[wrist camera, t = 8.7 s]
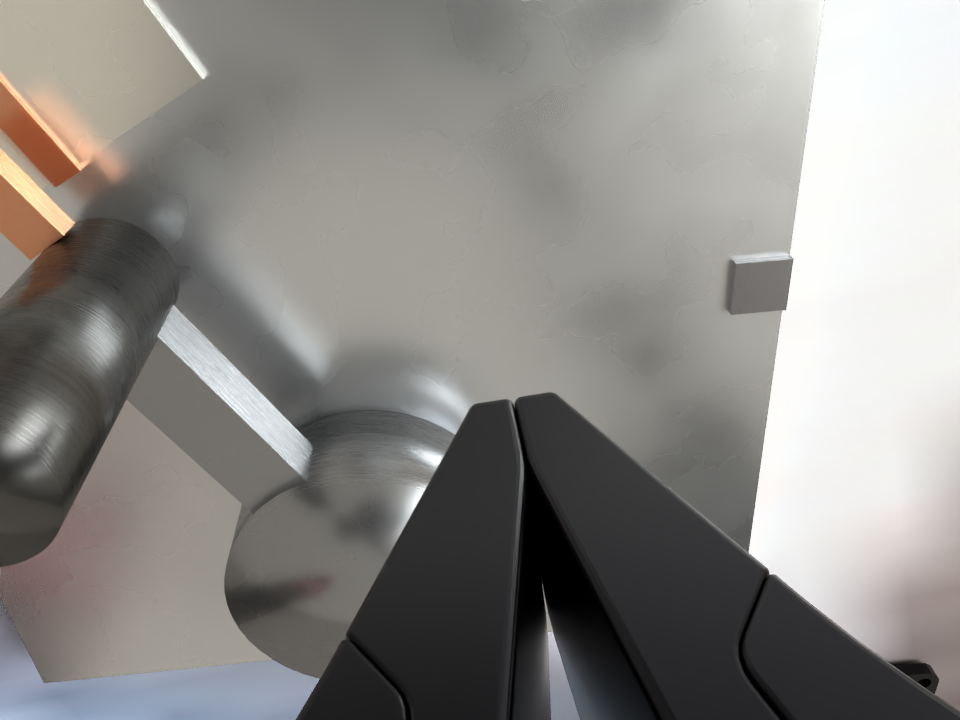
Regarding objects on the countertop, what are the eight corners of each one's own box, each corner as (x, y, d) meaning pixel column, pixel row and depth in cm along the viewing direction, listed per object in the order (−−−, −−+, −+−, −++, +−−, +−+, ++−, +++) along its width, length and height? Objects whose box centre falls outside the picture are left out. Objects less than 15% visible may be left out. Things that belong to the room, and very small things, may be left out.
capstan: (574, 568, 22) (637, 842, 16) (386, 666, 23) (378, 951, 17) (112, 29, 14) (-99, 158, 8) (-124, 220, 16) (-450, 447, 10)
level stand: (723, 572, 25) (743, 620, 23) (63, 638, 24) (39, 692, 22) (810, -157, 15) (854, -157, 14) (-272, -76, 15) (-352, -66, 13)
